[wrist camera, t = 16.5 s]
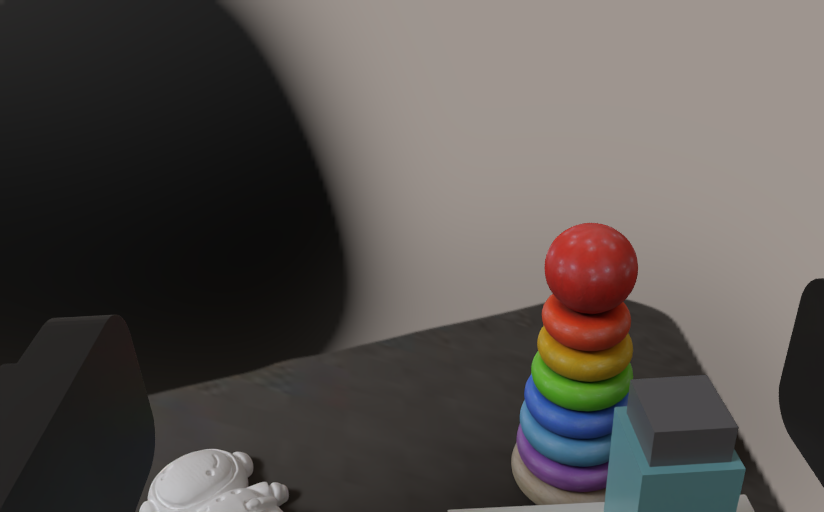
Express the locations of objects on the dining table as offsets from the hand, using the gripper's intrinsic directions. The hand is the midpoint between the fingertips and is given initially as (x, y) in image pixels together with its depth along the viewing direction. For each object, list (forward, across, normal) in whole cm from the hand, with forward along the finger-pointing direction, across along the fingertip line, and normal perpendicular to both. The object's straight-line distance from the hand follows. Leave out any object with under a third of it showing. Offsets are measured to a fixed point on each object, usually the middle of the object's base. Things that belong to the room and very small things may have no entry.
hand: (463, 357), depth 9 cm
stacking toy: (+29, -9, +33) cm, 45 cm away
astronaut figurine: (+27, +14, +33) cm, 45 cm away
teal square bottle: (+18, -11, +31) cm, 38 cm away
